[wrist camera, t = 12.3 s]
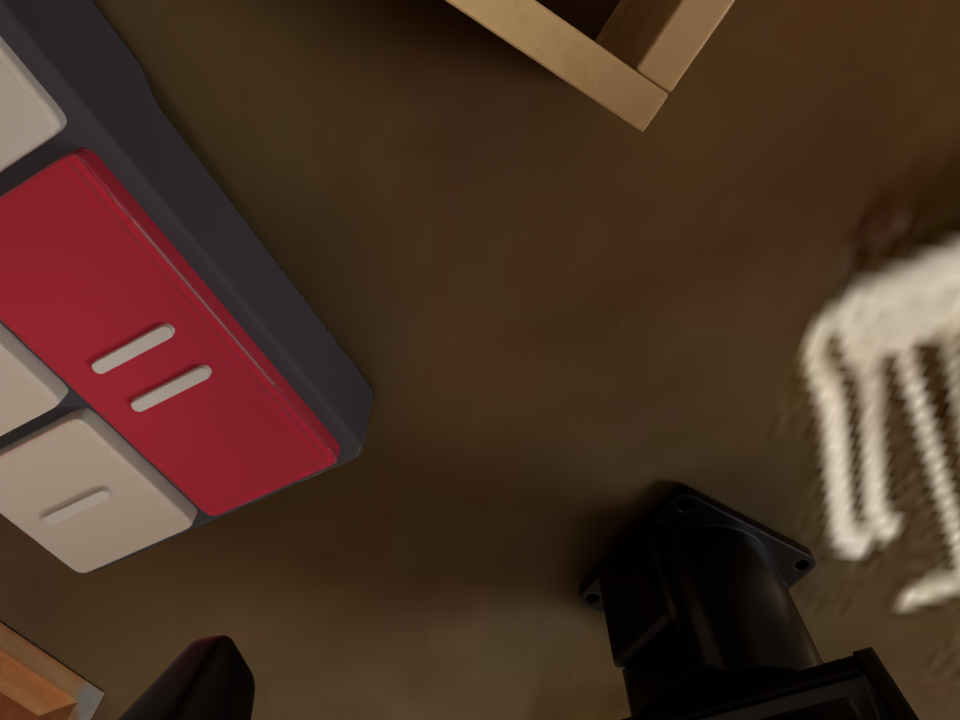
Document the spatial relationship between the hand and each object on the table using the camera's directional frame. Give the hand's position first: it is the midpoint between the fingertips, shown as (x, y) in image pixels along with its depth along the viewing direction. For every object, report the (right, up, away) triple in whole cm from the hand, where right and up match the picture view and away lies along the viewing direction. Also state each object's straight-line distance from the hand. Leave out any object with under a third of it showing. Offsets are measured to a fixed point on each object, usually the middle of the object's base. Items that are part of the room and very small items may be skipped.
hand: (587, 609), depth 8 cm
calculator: (-13, +5, +12) cm, 19 cm away
